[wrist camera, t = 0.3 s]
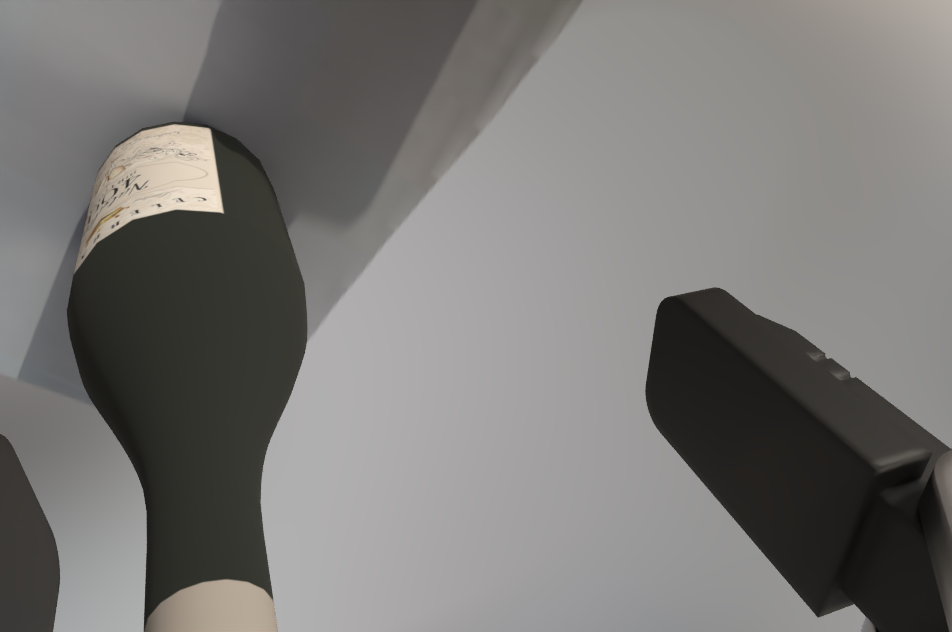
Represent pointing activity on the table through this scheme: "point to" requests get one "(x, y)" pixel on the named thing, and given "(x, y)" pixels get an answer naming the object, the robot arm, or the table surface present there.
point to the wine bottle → (191, 359)
